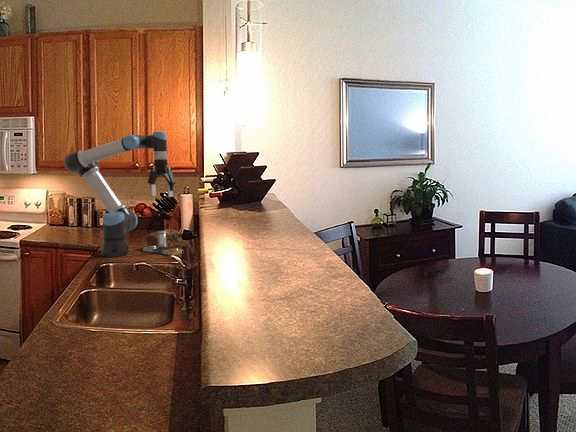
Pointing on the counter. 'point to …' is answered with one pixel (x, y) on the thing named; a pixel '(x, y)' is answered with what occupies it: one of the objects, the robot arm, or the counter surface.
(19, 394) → the counter surface
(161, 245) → the pin
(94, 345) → the counter surface
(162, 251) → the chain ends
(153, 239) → the bread
